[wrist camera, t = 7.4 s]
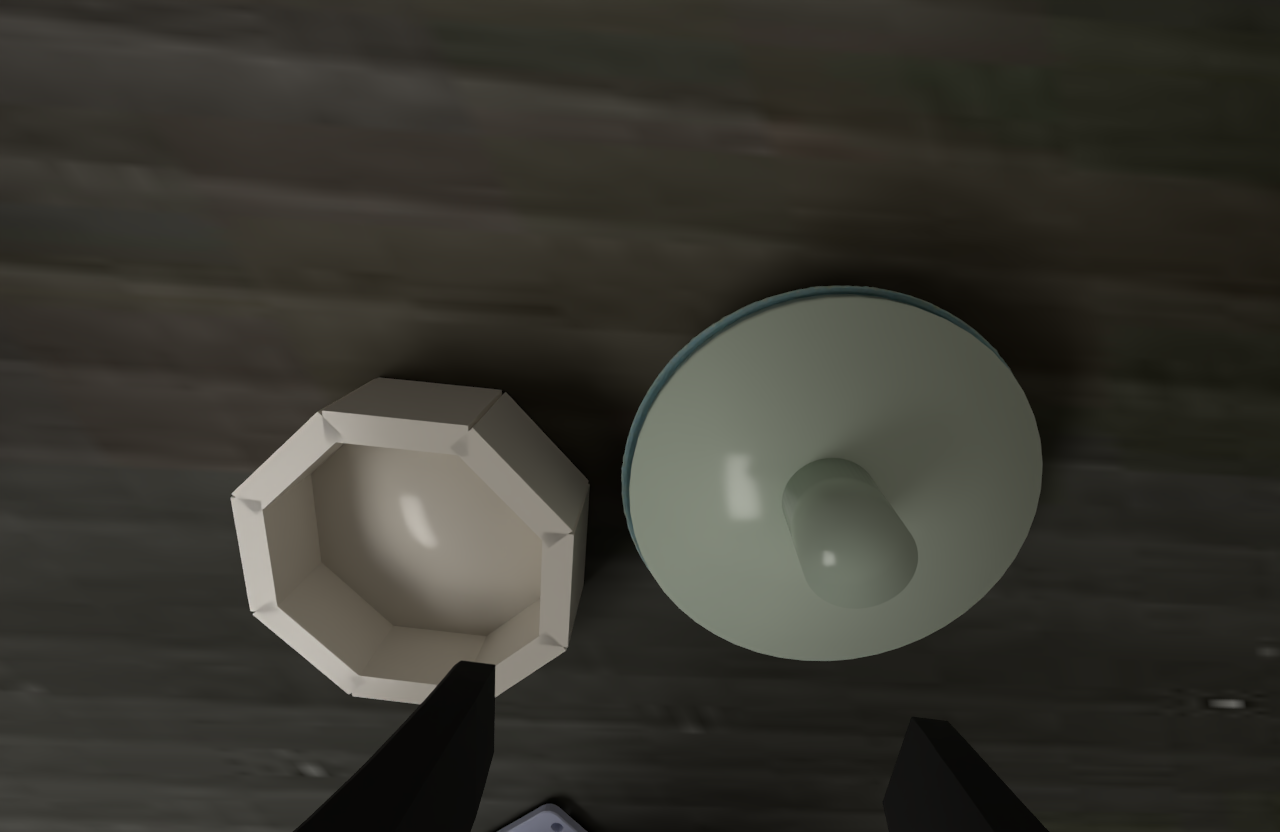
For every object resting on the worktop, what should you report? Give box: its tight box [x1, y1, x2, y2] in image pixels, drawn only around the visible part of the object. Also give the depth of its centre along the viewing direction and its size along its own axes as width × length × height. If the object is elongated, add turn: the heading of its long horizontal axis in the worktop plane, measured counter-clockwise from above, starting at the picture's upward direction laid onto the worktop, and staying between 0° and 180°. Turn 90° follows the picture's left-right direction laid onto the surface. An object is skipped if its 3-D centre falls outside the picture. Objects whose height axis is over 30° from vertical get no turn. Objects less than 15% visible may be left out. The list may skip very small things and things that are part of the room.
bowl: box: [231, 377, 590, 704], centre depth 19 cm, size 10×10×3 cm
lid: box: [629, 294, 1043, 661], centre depth 15 cm, size 11×11×4 cm
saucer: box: [621, 285, 1017, 583], centre depth 18 cm, size 12×12×2 cm
